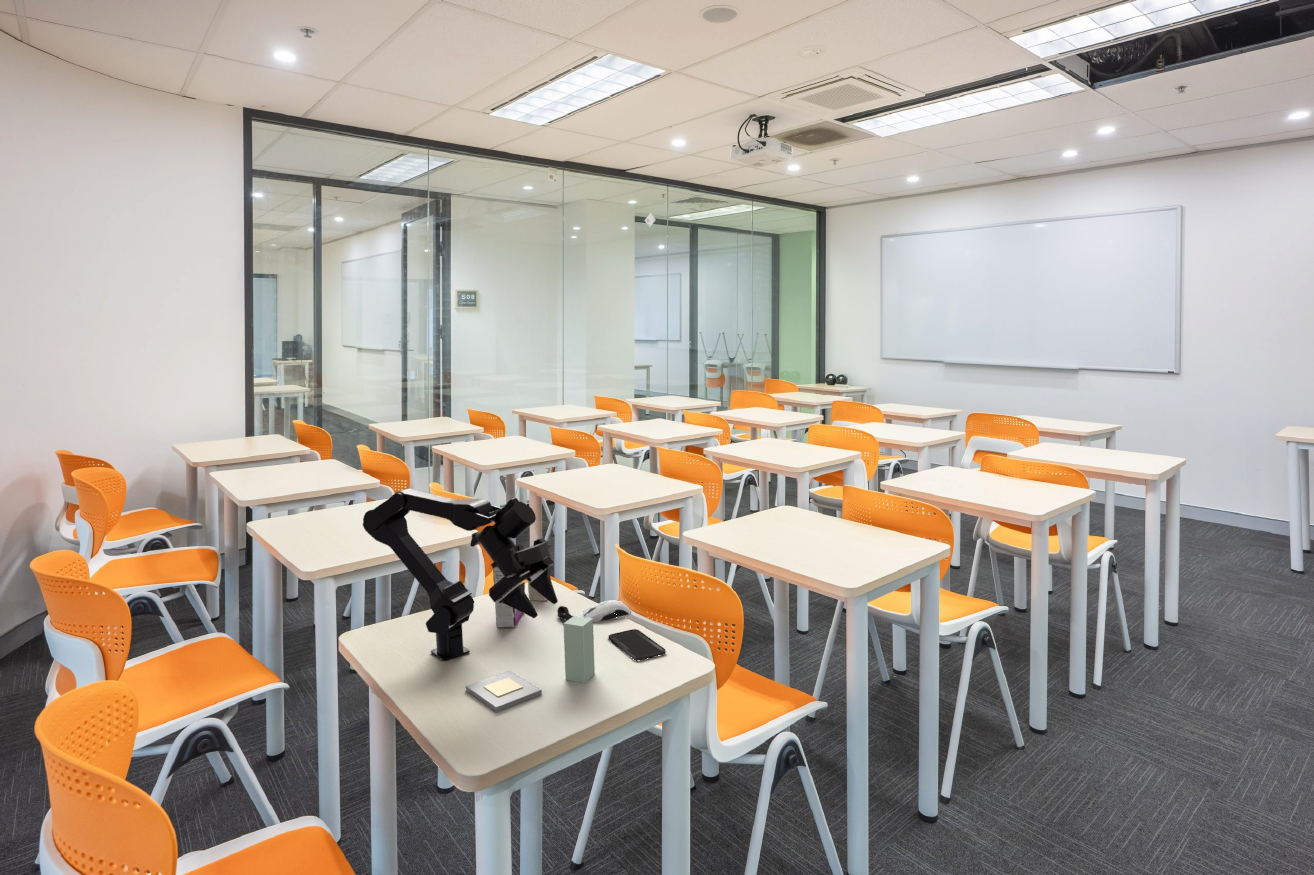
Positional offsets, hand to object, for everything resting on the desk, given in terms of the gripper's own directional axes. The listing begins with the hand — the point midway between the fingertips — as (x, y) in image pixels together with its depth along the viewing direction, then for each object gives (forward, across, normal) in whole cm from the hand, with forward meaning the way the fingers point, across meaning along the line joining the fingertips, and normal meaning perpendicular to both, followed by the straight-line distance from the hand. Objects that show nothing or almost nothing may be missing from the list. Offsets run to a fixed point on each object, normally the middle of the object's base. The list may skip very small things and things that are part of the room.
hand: (546, 609), depth 153 cm
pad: (+8, -12, +11) cm, 18 cm away
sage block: (+15, -1, +2) cm, 15 cm away
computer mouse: (+9, +30, +9) cm, 33 cm away
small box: (-5, +39, +24) cm, 46 cm away
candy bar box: (-5, +23, +25) cm, 34 cm away
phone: (+19, +16, -2) cm, 25 cm away
